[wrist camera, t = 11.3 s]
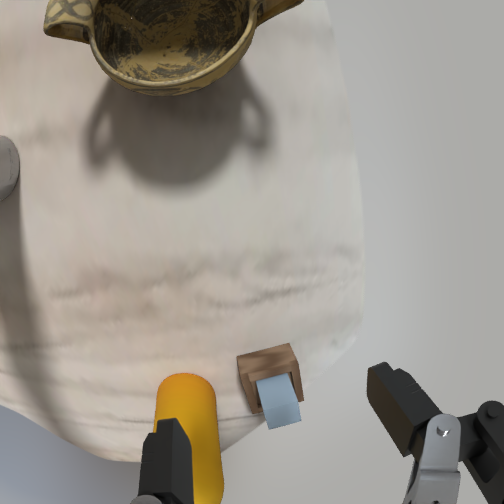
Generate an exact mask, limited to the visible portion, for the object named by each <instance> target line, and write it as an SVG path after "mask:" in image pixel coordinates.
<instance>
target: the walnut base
mask: <svg viewBox="0 0 504 504" xmlns="http://www.w3.org/2000/svg"><path fill="white" fill-rule="evenodd" d="M237 361H238V366H239V372H240V377H241V381H242V384H243V387H244V390H245V393H246V396H247V399H248V402H249V405H250V408H251V411H252V414H256V413H260V412H264V411H263V408H262V404H261V400H260V396H259V392H258V388H257V384H256V381H257V380H261V379H265V378H269V377H273V376H277V375H281V374H284V373H287V374H288V376H289V379H290V381H291V384H292V387H293V389H294V392H295V394H296V397H297V400H298V402H301V401H304V397H303V390H302V383H301V377H300V370H299V364H298V361H297V359H296V357H295V355H294V352H293V350H292V348H291V346H290V343H287V344H283V345H279V346H275V347H272V348H268V349H264V350H260V351H256V352H252V353H248V354H244V355H240V356H237Z"/></svg>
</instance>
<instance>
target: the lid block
mask: <svg viewBox="0 0 504 504" xmlns="http://www.w3.org/2000/svg"><path fill="white" fill-rule="evenodd" d="M256 384H257V388H258V392H259V396H260V400H261V404H262V408H263V411H264V415H265V418H266V421H267V425H268V428H269V429H273V428H277V427H281V426H285V425H288V424H292V423H295V422H299V421H301V416H300V410H299V404H298V400H297V397H296V394H295V392H294V389H293V387H292V384H291V381H290V379H289V376H288V374H287V373H284V374H281V375H277V376H273V377H269V378H265V379H261V380H257V381H256Z"/></svg>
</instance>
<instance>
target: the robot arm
mask: <svg viewBox="0 0 504 504" xmlns="http://www.w3.org/2000/svg"><path fill="white" fill-rule="evenodd" d="M18 174H19V157H18V153H17V149H16V147H15V145H14V143H13V142H12V141H11V140H10V139H9V138H7V137H5V136H0V200H3V199H5V198H6V197H7V196H8V195H9V194H10V193H11V192H12V190H13V189H14V187H15V184H16V182H17V178H18ZM367 397H368V400H369V403H370V404H371V406H372V408H373V409H374V411H375V412H376V414H377V416H378V417H379V419H380V420H381V422H382V424H383V425H384V427H385V428H386V430H387V432H388V433H389V435H390V436H391V438H392V439H393V441H394V443H395V444H396V446H397V448H398V449H399V451H400V453H401V454H402V456H403V457H406V456H408V455H410V454H412V455H413V457H414V458H415V459H414V462H413V467H412V471H411V475H410V479H409V483H408V487H407V491H406V495H405V498H404V501H403V503H402V504H456V503H457V497H458V491H459V485H460V472H459V471H458V470H457V466H458V462H460V461H463V463H464V464H465V466H466V467H467V469H468V471H469V472H470V474H471V475H472V477H473V479H474V480H475V482H476V484H477V485H478V487H479V489H480V490H481V492H482V494H483V495H484V497H485V498H486V500H487V502H488V504H504V405H502V404H501V403H500V402H497V401H487V402H485V403H483V404H482V405H481V406H480V408H479V409H478V411H477V412H476V413H473V414H469V415H466V416H463V417H455V416H453V415H450V414H443V413H442V412H441V411H440V410H439V408H438V407H437V406H436V405H435V404H434V403H433V401H432V400H431V399H430V398H429V397H428V395H427V394H426V393H425V392H424V391H423V390H422V389H421V387H420V386H419V384H418V383H416V381H415V380H414V379H413V377H412V376H411V375H410V374H409V373H407V372H405V371H403V370H402V369H400V368H399V369H396V370H393V369H392V368H391V367H390V366H389V364H388V363H387V362H382V363H380V364H377V365H375V366H372V367H370V368H368V376H367ZM142 454H143V455H142V460H141V462H142V464H141V470H140V481H139V492H138V496H137V497H136V498H135V499H134V500H132V502H131V503H130V504H194V489H193V466H192V447H191V443H190V440H189V438H188V436H187V434H186V433H185V431H184V429H183V428H182V426H181V424H180V423H179V421H178V419H177V418H169V419H161V420H158V421H157V427H156V432H155V433H149V434H148V436H147V438H146V439H145V441H144V443H143V451H142Z"/></svg>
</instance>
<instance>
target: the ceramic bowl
mask: <svg viewBox="0 0 504 504" xmlns="http://www.w3.org/2000/svg"><path fill="white" fill-rule="evenodd" d="M303 1H304V0H50V1H49V3H48V6H47V10H46V15H45V21H44V32H45V34H46V35H48V36H51V37H56V38H62V39H68V40H73V41H78V42H83V43H86V44H90V46H91V50H92V52H93V55H94V57H95V59H96V60H97V62H98V64H99V65H100V67H101V68H102V70H103V71H104V72H105V73H106V74H107V75H109V76H110V77H111V78H112V79H113V80H114V81H116V82H117V83H119V84H120V85H122V86H124V87H126V88H128V89H130V90H133V91H135V92H138V93H142V94H147V95H153V96H175V95H180V94H185V93H189V92H192V91H195V90H198V89H201V88H203V87H205V86H207V85H209V84H211V83H213V82H214V81H216V80H218V79H219V78H221V77H222V76H224V75H225V74H226V73H227V72H229V71H230V70H231V69H232V68H233V67H234V66H235V65H236V64H237V63H238V62H239V61H240V60H241V58H242V57H243V56H244V55H245V53H246V51H247V50H248V48H249V46H250V44H251V42H252V39H253V35H254V32H255V29H256V28H257V26H259V25H260V24H262V23H263V22H265V21H267V20H269V19H271V18H272V17H274V16H276V15H278V14H280V13H282V12H284V11H286V10H289V9H291V8H293V7H295V6H297V5H299V4H301V3H302V2H303ZM131 17H132V19H131ZM168 47H170V48H168ZM164 55H165V57H164Z"/></svg>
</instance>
